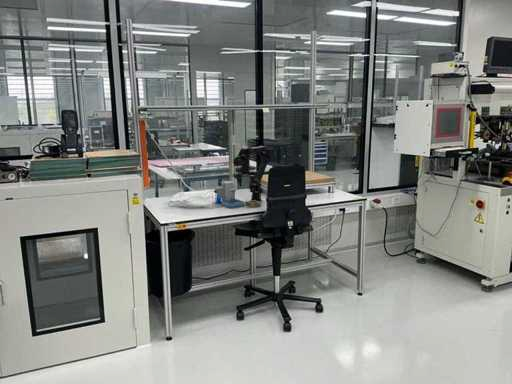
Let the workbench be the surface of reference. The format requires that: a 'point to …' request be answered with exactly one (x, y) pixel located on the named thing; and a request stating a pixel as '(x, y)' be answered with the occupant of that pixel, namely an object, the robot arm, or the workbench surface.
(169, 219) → the workbench surface
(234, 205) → the tray
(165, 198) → the workbench surface
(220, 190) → the circuit breaker
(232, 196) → the pin
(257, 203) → the hole block
